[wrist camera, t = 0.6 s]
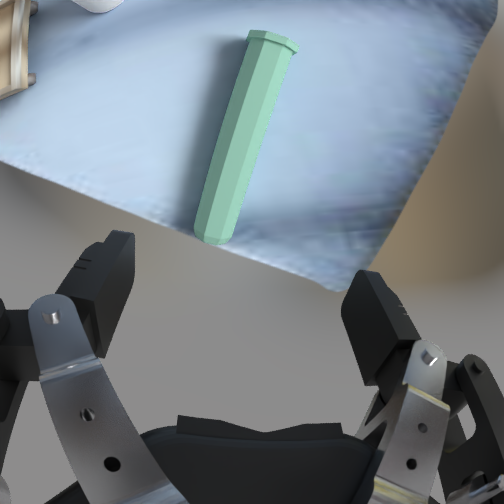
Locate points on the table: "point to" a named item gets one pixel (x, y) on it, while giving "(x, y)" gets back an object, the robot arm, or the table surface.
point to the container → (242, 134)
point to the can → (98, 5)
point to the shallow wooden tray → (15, 46)
